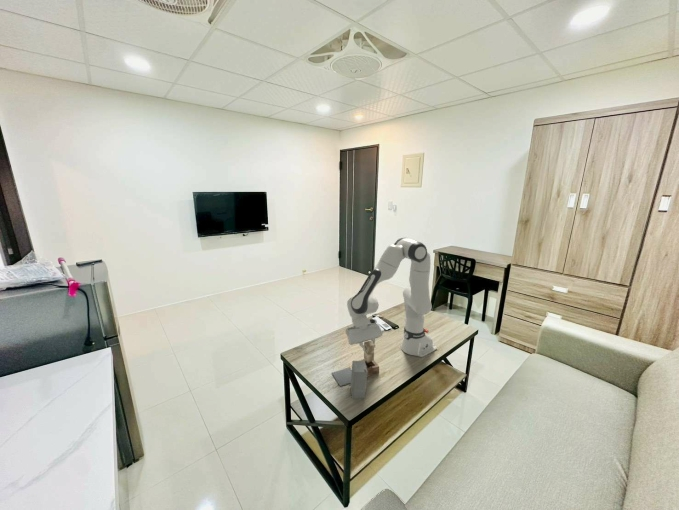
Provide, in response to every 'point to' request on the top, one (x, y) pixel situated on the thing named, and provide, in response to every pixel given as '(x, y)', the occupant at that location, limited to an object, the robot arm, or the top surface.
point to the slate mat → (343, 376)
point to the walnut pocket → (373, 368)
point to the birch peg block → (369, 351)
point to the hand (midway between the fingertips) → (369, 348)
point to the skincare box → (358, 379)
